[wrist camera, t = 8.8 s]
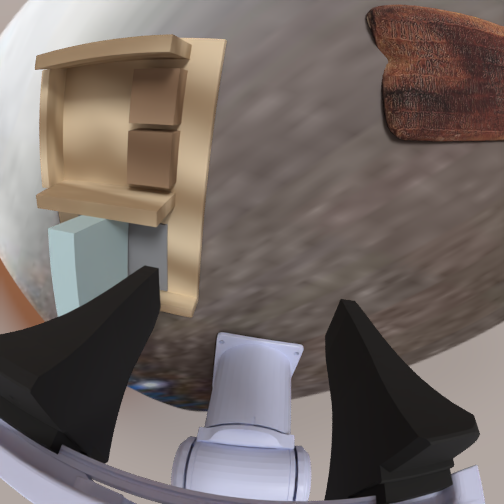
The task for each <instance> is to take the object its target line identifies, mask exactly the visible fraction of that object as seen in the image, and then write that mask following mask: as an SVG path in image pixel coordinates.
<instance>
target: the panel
mask: <svg viewBox="0 0 504 504" xmlns="http://www.w3.org/2000/svg"><path fill="white" fill-rule="evenodd" d="M128 226H129V223H128V222H122V221H115V220H109V219H103V218H97V217H91V216H85V215H81V216H78V217H76V218H73V219H70V220H68V221H65V222H63V223H60V224H58V225H56V226H53V227H51V228H48V235H49V251H50V263H51V273H52V281H53V289H54V296H55V302H56V308H57V314H58V317H59V316H62V315H64V314H66V313H68V312H70V311H72V310H74V309H76V308H78V307H80V306H82V305H84V304H86V303H87V302H89V301H91V300H92V299H94V298H96V297H97V296H99V295H100V294H102V293H104V292H105V291H107V290H109V289H110V288H112V287H113V286H115V285H116V284H117V283H119V282H120V281H122V280H123V279H125V278H126V277H128Z"/></svg>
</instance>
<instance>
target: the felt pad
mask: <svg viewBox="0 0 504 504" xmlns="http://www.w3.org/2000/svg"><path fill="white" fill-rule="evenodd" d="M78 215H79V214H78ZM79 216H81V215H79ZM145 265H146V266H151V267H156V268H159V286H160V290H163V291H168V224H163V223H160V224H159V225H158V226H157V227H152V226H146V225H140V224H134V223H129V226H128V276H129V275H131V274H132V273H134V272H135V271H137V270H138V269H140V268H141V267H143V266H145Z"/></svg>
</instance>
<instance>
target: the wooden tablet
mask: <svg viewBox="0 0 504 504" xmlns="http://www.w3.org/2000/svg"><path fill="white" fill-rule="evenodd" d="M367 21H368V24H369V27H370V29H371V32H372V35H373V38H374V40H375V43H376V45H377V47H378V48H379V50H380V51H381V52H382V53H383V54H384V55H385V56H386V58H387V59H388V64H387V65H386V68H385V70H384V74H383V79H382V94H383V104H384V112H385V117H386V121H387V126H388V128H389V129H390V131H391V132H393V134H394V135H395V136H396V137H398V138H400V139H403V140H418V141H485V140H504V27H503V26H500V25H497V24H495V23H492V22H489V21H485V20H482V19H479V18H476V17H472V16H468V15H464V14H461V13H456V12H450V11H445V10H439V9H435V8H427V7H420V6H408V5H384V6H378V7H375V8H372V9H371V10H370V11H369V12H368V13H367Z"/></svg>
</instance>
